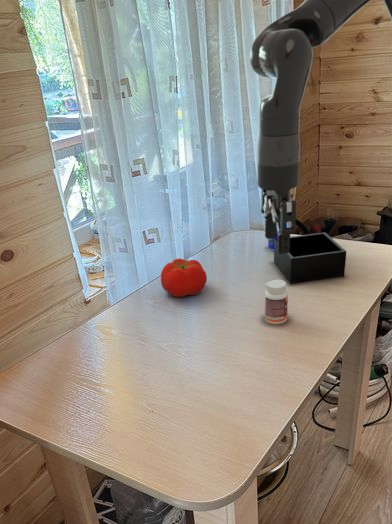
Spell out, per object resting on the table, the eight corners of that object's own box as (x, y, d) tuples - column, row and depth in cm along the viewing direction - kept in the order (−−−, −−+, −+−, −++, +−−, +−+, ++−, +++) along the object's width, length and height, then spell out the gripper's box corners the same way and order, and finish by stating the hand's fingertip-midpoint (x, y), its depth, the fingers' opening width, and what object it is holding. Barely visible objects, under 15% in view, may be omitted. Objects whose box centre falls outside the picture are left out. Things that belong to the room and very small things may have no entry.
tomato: (212, 297, 121) (210, 268, 116) (166, 305, 119) (162, 275, 115) (201, 279, 129) (199, 251, 125) (159, 286, 128) (155, 258, 124)
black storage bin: (323, 256, 136) (325, 232, 133) (344, 276, 125) (346, 251, 121) (273, 262, 135) (274, 238, 131) (290, 284, 124) (291, 258, 120)
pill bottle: (290, 322, 108) (291, 286, 104) (268, 326, 108) (268, 290, 103) (283, 312, 112) (284, 277, 108) (262, 315, 112) (262, 280, 107)
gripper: (312, 166, 87) (307, 256, 95) (286, 149, 99) (284, 230, 107) (269, 170, 86) (268, 261, 95) (248, 153, 98) (249, 235, 107)
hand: (276, 245), depth 101 cm, fingers open, 8 cm apart
